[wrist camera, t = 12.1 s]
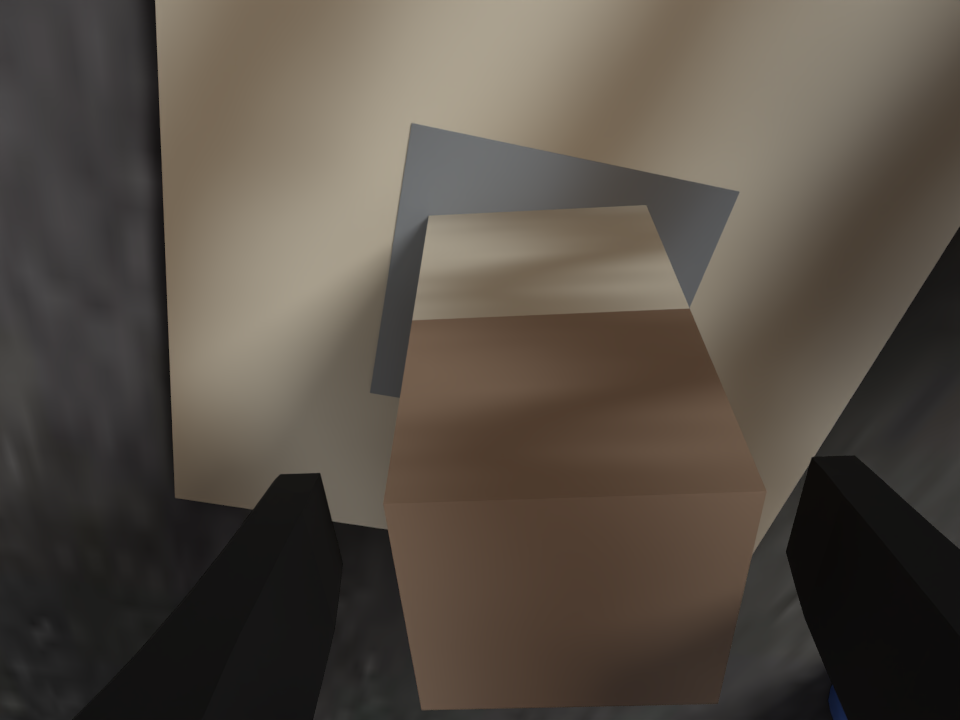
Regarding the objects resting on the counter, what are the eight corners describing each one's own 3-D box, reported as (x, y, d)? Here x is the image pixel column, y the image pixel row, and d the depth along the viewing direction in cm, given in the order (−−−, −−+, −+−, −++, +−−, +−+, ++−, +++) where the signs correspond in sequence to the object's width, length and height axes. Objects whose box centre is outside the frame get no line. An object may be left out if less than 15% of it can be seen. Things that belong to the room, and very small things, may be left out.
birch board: (1064, -21, 14) (1110, -9, 13) (724, 548, 23) (735, 582, 22) (173, -248, 12) (144, -257, 11) (189, 466, 21) (174, 498, 20)
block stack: (646, 204, 15) (767, 490, 8) (632, 379, 18) (718, 703, 11) (429, 215, 15) (383, 504, 9) (446, 386, 18) (422, 710, 11)
